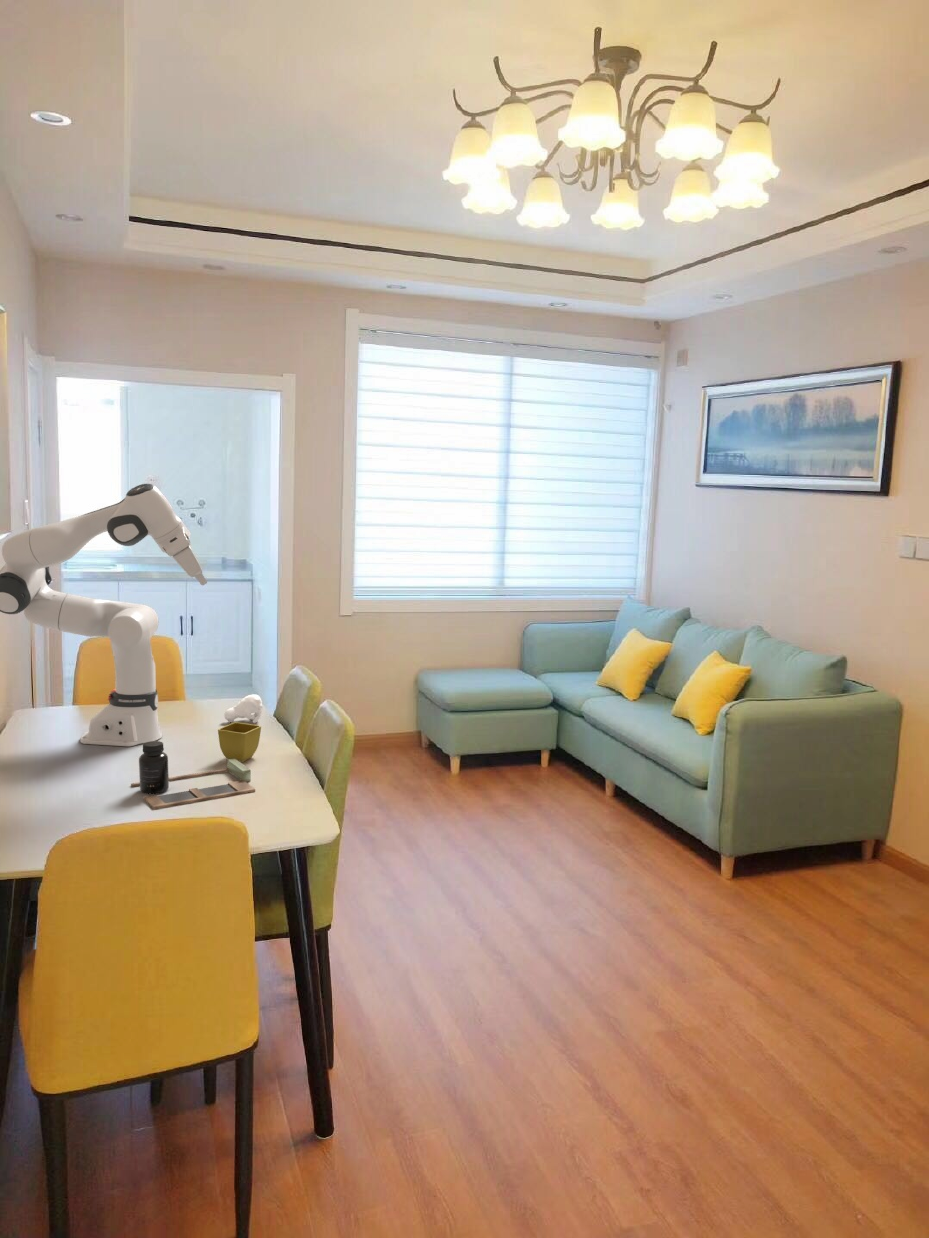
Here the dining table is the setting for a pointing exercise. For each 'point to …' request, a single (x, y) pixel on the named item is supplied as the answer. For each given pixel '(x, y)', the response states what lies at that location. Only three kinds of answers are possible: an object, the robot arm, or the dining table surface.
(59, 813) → the dining table surface
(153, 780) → the supplement bottle
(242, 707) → the white lumpy piece
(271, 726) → the dining table surface
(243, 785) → the board
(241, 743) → the flower pot
